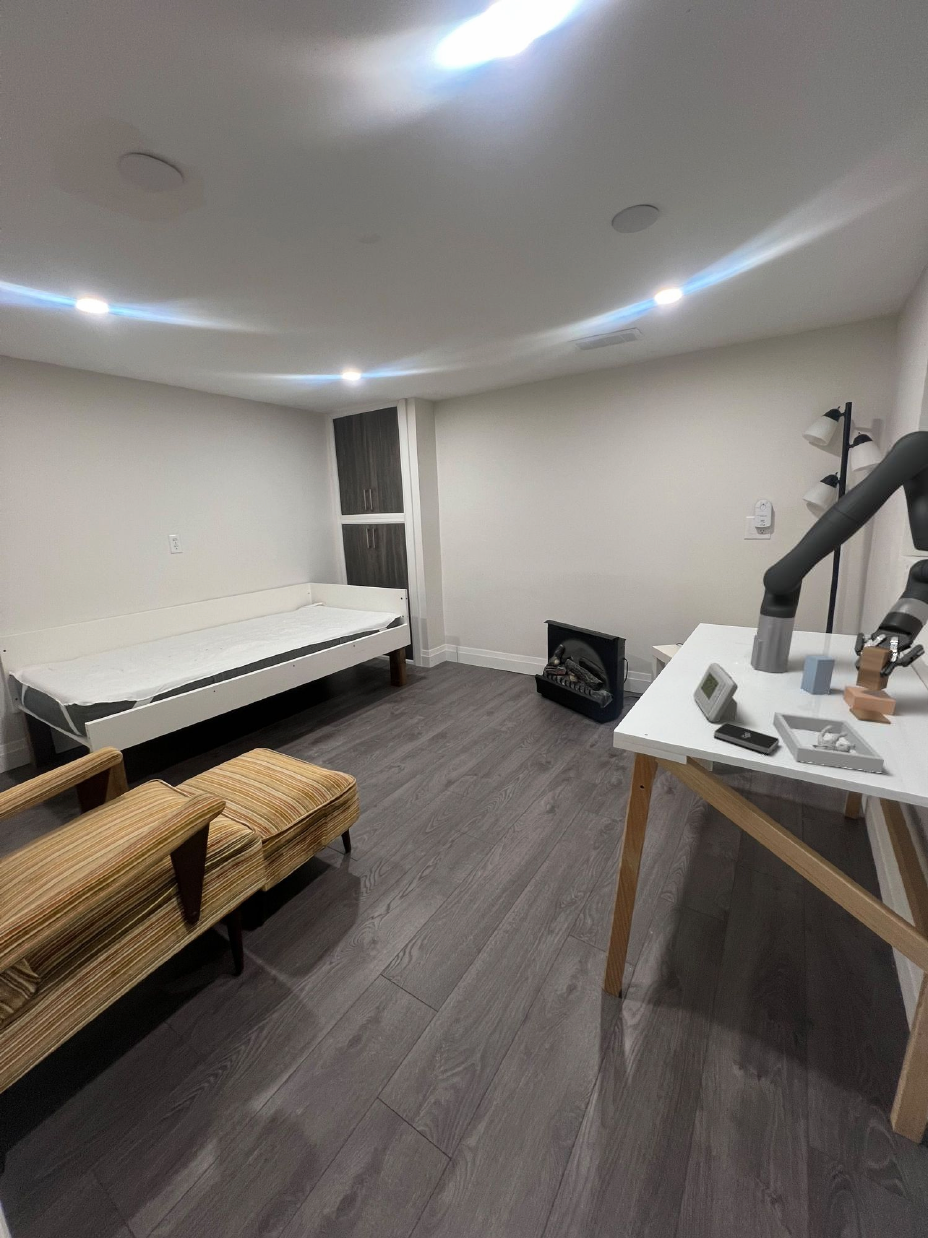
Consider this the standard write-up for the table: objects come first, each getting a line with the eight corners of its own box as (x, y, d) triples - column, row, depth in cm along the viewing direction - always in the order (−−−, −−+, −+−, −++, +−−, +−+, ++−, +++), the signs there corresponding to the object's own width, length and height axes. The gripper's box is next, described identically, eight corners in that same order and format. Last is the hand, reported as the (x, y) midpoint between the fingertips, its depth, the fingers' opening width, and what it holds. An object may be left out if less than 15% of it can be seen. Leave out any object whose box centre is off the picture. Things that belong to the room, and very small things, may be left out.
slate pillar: (812, 694, 131) (818, 659, 129) (800, 688, 135) (806, 654, 133) (828, 694, 131) (834, 659, 129) (816, 688, 135) (822, 654, 133)
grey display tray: (796, 761, 97) (798, 748, 96) (772, 724, 113) (774, 712, 113) (881, 774, 92) (884, 759, 92) (844, 733, 109) (846, 720, 108)
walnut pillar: (876, 691, 119) (884, 652, 116) (855, 685, 123) (863, 647, 120) (886, 688, 121) (894, 649, 118) (865, 682, 124) (872, 645, 122)
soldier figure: (865, 759, 100) (853, 761, 92) (840, 768, 103) (826, 770, 95) (841, 724, 104) (827, 723, 96) (817, 733, 107) (802, 733, 99)
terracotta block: (852, 711, 121) (855, 696, 120) (842, 699, 128) (845, 685, 127) (892, 716, 118) (895, 701, 117) (880, 704, 125) (883, 690, 124)
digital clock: (692, 697, 130) (697, 659, 127) (730, 702, 126) (736, 663, 124) (694, 721, 115) (699, 679, 113) (737, 728, 112) (743, 685, 109)
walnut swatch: (859, 720, 115) (859, 718, 115) (849, 710, 121) (849, 708, 121) (890, 724, 113) (890, 721, 113) (878, 713, 119) (878, 711, 119)
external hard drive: (768, 758, 99) (769, 749, 99) (711, 739, 107) (712, 731, 107) (778, 747, 104) (780, 738, 103) (724, 730, 111) (725, 722, 111)
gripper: (868, 605, 127) (833, 656, 124) (938, 616, 114) (901, 672, 112) (875, 623, 130) (841, 672, 128) (944, 635, 117) (908, 690, 115)
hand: (870, 672), depth 120 cm, fingers closed on walnut pillar, 4 cm apart
